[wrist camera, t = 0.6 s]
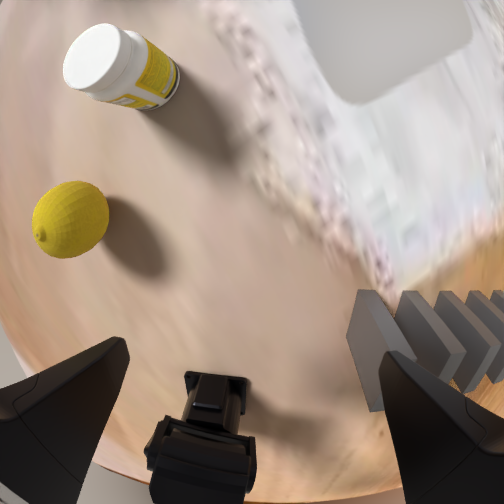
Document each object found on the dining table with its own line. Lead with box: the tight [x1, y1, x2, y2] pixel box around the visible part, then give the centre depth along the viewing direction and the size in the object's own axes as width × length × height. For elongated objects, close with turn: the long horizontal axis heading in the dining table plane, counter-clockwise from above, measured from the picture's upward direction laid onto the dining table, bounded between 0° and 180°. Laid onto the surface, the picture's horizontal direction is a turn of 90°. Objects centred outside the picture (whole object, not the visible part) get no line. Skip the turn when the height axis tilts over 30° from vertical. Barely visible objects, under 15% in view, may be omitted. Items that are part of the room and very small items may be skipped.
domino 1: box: [346, 290, 417, 412], centre depth 18 cm, size 2×5×9 cm, turn 178°
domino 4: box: [465, 291, 504, 384], centre depth 18 cm, size 2×5×9 cm, turn 178°
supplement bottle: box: [63, 24, 180, 110], centre depth 13 cm, size 5×5×8 cm
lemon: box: [32, 181, 109, 259], centre depth 17 cm, size 6×6×8 cm
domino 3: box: [434, 291, 502, 394], centre depth 18 cm, size 2×5×9 cm, turn 177°
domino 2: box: [394, 291, 467, 384], centre depth 18 cm, size 2×5×9 cm, turn 178°
